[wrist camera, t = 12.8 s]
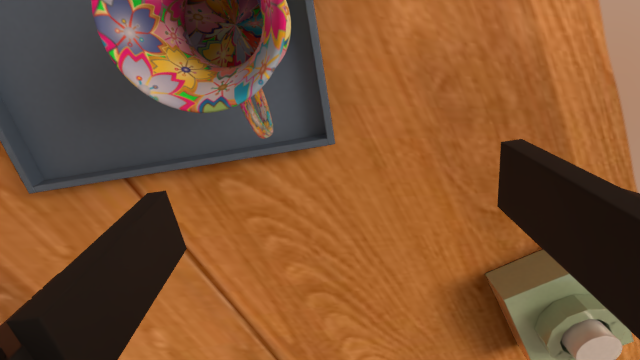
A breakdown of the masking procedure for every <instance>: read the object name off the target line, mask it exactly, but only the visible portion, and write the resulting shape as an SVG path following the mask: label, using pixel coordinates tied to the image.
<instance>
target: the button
mask: <svg viewBox="0 0 640 360" xmlns="http://www.w3.org/2000/svg"><path fill="white" fill-rule="evenodd" d="M561 341H562V344H563V345H564V347H565V348H566V349H567V350H568V352H569V353H570V354H571V355H572V357H573V358H574V359H575V360H616V359H617V358H618V357H619V355H620V354H621V351H622V344H621V342H620V340H619V339H618V338H617V337H616V336H615V335H614V334H613V333H612V332H611V331H610V330H609V329H608V328H607V327H606V326H605V325H604V324H603V323H602V322H600V321H598V320H596V319H587V320H585V321H582V322H579V323H577V324H574V325H573V326H571V327H570V328H569V329H568V330H567V331H566V332H565V333H564V334H563V336H562V339H561Z"/></svg>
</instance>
